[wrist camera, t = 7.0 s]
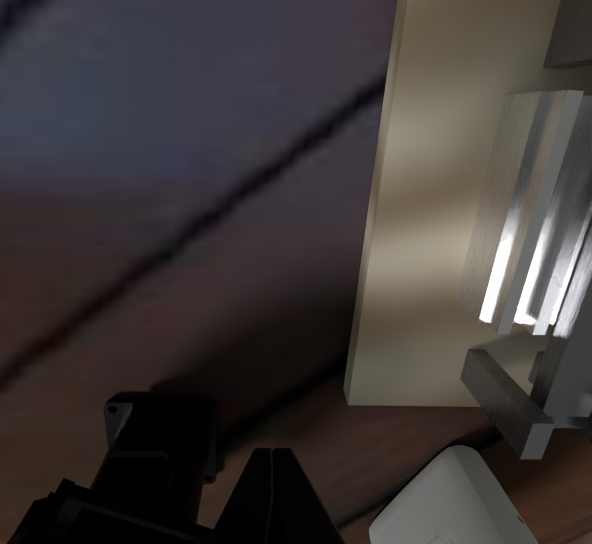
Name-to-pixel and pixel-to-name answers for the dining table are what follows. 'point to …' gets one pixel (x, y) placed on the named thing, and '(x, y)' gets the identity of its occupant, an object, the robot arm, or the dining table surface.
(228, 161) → the dining table surface
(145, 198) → the dining table surface
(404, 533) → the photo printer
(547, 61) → the bracket
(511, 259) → the finned block
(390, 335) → the base board
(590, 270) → the strap
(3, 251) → the dining table surface
